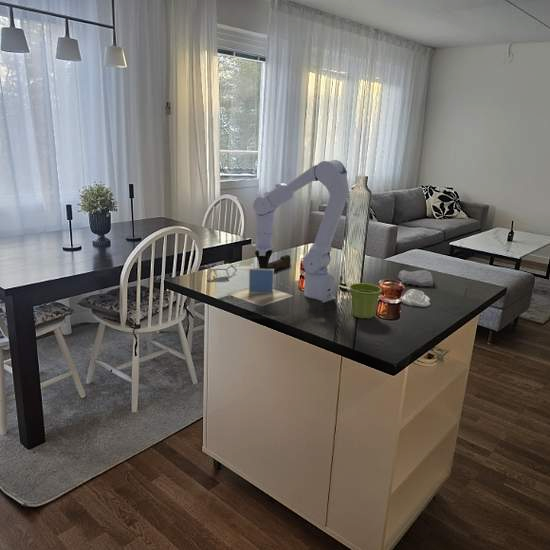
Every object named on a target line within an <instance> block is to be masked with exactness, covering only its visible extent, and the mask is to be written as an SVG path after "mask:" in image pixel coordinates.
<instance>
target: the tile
mask: <svg viewBox="0 0 550 550" xmlns="http://www.w3.org/2000/svg"><path fill="white" fill-rule="evenodd" d="M274 272H275V270H274V269H262V268H259V267H249V269H248V287H249V292H253V293H273V289H274V279H275V278H274V275H275V273H274Z"/></svg>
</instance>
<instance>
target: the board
mask: <svg viewBox="0 0 550 550" xmlns="http://www.w3.org/2000/svg"><path fill="white" fill-rule="evenodd" d="M226 295H228V296H231V297H234V298H236V299H239V300H241V301H245V302H248V303H251V304H254V305H256V306H259V307H263V306H266V305H270V304H273V303H276V302H279V301H282V300H285V299H288V298H291V297H294V295H292V294H289V293H287V292H283V291H280V290H278V289H277V290H276V289H274V288H273V293H253V292H249V286H248V287H246V288H242V289H239V290H235V291H232V292H227V293H226Z"/></svg>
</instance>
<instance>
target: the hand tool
mask: <svg viewBox="0 0 550 550" xmlns="http://www.w3.org/2000/svg"><path fill="white" fill-rule="evenodd" d="M290 265H291V255H290V254H286V255H282V256H280V259H277V260H274V261H272V262H268V267H267V269H274V271H277V270H279V269H281V268H283V269H285V268H287V267H289V266H290Z"/></svg>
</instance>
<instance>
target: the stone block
mask: <svg viewBox="0 0 550 550" xmlns="http://www.w3.org/2000/svg"><path fill="white" fill-rule="evenodd" d="M397 278H399V279H400V280H401V281H400V280H399V279H398V280H399V281H400V283H401V282H402V283H406V284H405V285H408V284H412V285H411V286H415V285H418V286H417V287H423V286H429V287H433V286H434V280H433V279H434V278H433V276H432V272H430V271H428V270H427V269H426V270H425V269H424V270H423V269H421V270H414V271H408V270H405V269H402V270H401V271H399V273H398V277H397ZM402 283H401V284H402Z"/></svg>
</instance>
